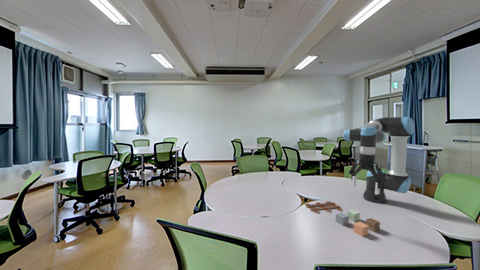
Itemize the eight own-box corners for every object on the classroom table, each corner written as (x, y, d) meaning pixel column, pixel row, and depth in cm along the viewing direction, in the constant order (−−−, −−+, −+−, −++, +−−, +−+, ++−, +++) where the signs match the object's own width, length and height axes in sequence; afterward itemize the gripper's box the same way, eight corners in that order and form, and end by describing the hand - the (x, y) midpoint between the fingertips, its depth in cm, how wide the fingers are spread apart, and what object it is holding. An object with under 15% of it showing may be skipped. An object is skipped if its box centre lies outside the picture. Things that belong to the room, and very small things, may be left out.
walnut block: (370, 225, 116) (371, 217, 116) (379, 230, 112) (380, 221, 111) (365, 227, 114) (365, 219, 114) (374, 232, 110) (374, 223, 109)
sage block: (352, 216, 127) (352, 209, 127) (359, 220, 123) (359, 212, 122) (346, 218, 125) (347, 210, 125) (354, 222, 121) (354, 214, 120)
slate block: (341, 220, 123) (341, 212, 123) (348, 223, 119) (348, 216, 118) (335, 221, 121) (335, 214, 121) (342, 225, 117) (343, 217, 116)
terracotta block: (359, 229, 112) (359, 221, 112) (368, 234, 108) (368, 225, 107) (353, 231, 110) (353, 223, 110) (362, 236, 106) (362, 227, 105)
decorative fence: (303, 205, 146) (314, 215, 131) (303, 203, 146) (315, 212, 131) (330, 202, 150) (344, 211, 136) (330, 200, 150) (344, 209, 135)
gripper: (343, 151, 122) (341, 184, 123) (386, 157, 99) (384, 198, 100) (351, 150, 125) (349, 183, 126) (395, 157, 102) (392, 196, 103)
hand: (365, 190), depth 113 cm, fingers open, 13 cm apart
